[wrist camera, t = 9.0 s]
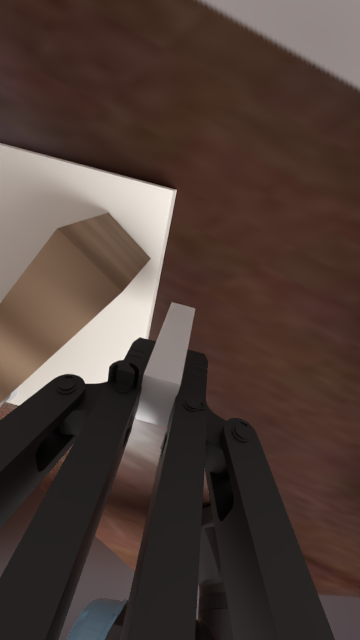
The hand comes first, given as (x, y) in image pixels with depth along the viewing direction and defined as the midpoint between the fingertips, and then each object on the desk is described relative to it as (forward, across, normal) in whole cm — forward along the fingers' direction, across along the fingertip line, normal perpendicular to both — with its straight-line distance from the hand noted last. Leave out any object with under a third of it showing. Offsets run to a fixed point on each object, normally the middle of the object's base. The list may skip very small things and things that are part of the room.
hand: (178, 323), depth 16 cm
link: (+3, +12, +7) cm, 15 cm away
